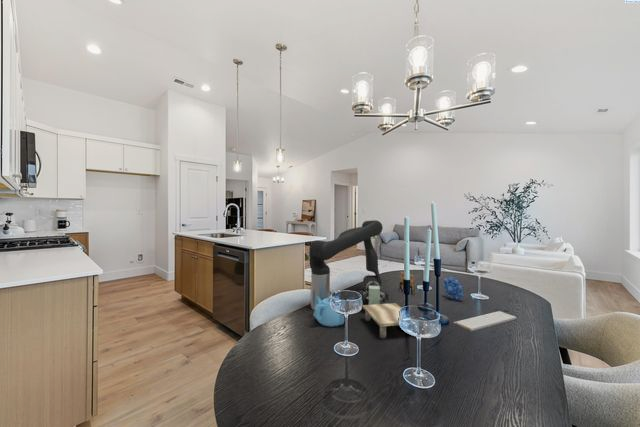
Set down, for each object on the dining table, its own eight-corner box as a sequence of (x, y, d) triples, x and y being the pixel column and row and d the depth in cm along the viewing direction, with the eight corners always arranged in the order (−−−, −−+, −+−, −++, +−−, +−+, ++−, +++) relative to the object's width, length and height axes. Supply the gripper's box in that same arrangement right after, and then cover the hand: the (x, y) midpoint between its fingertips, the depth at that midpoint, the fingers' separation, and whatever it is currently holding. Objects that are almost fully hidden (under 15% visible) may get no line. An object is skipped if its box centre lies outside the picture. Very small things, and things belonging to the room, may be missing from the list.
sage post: (368, 313, 126) (369, 288, 126) (368, 310, 131) (368, 285, 131) (379, 314, 125) (379, 289, 125) (379, 310, 130) (379, 286, 130)
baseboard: (450, 323, 118) (471, 332, 109) (450, 316, 118) (471, 325, 109) (494, 312, 131) (516, 320, 121) (494, 306, 130) (516, 313, 121)
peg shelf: (380, 339, 101) (380, 324, 101) (362, 318, 121) (362, 305, 121) (419, 336, 104) (419, 320, 104) (395, 316, 124) (395, 303, 124)
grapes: (438, 297, 150) (438, 276, 150) (445, 295, 154) (445, 274, 154) (458, 303, 140) (459, 280, 140) (465, 301, 144) (465, 279, 144)
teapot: (315, 313, 127) (315, 291, 126) (347, 314, 126) (347, 291, 126) (313, 328, 111) (313, 302, 111) (349, 329, 110) (349, 303, 110)
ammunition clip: (399, 290, 164) (399, 270, 164) (401, 289, 165) (401, 270, 165) (412, 295, 154) (412, 274, 154) (414, 294, 155) (414, 274, 155)
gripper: (359, 281, 143) (359, 291, 127) (387, 283, 141) (390, 292, 125) (359, 295, 144) (358, 306, 127) (387, 297, 141) (389, 308, 125)
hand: (374, 299), depth 126 cm, fingers open, 8 cm apart
